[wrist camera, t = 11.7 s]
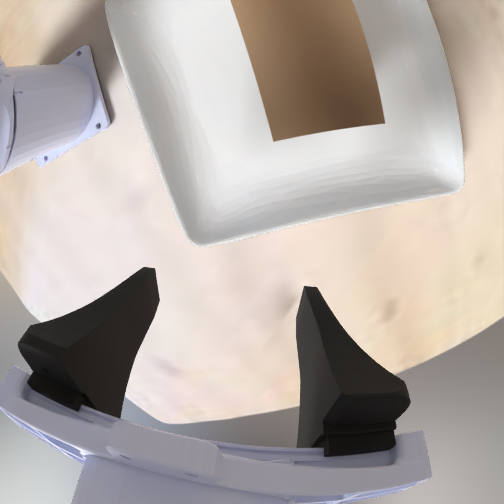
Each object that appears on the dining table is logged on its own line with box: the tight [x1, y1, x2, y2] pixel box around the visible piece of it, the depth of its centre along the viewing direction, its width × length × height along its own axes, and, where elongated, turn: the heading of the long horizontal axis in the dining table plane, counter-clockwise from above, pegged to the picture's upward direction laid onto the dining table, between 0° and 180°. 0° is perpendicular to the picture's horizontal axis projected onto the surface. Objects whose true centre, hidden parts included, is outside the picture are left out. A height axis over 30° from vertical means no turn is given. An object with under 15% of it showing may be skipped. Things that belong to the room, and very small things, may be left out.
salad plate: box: [104, 0, 465, 247], centre depth 14 cm, size 21×21×3 cm
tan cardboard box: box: [230, 0, 385, 142], centre depth 10 cm, size 4×8×6 cm, turn 15°
